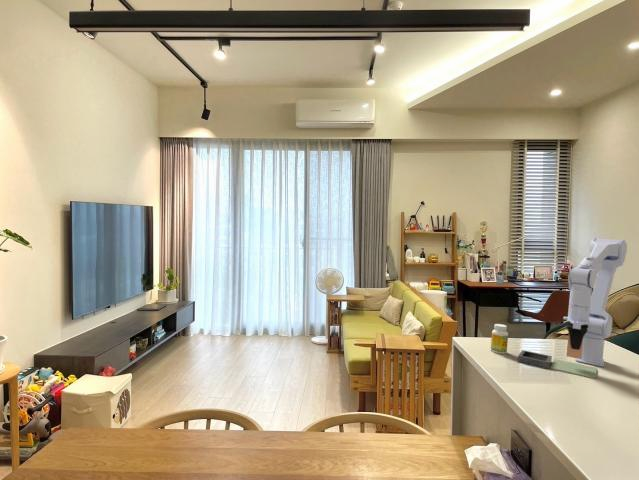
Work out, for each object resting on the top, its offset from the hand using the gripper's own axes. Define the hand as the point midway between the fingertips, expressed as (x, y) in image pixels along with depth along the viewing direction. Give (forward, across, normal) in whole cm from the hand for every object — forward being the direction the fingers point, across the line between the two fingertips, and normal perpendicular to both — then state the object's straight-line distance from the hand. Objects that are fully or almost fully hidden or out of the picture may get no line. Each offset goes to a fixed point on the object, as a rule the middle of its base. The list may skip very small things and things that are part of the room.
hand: (575, 347), depth 129 cm
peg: (+3, 0, 0) cm, 3 cm away
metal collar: (+7, +2, -11) cm, 13 cm away
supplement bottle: (+7, -1, -23) cm, 24 cm away
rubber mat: (+7, 0, 0) cm, 7 cm away
